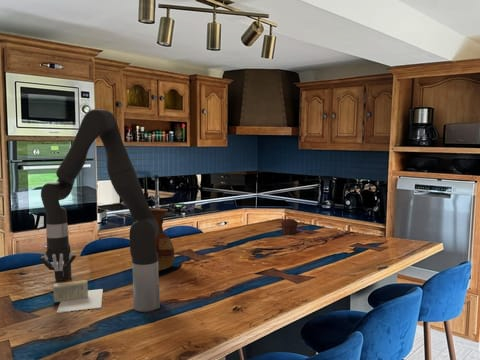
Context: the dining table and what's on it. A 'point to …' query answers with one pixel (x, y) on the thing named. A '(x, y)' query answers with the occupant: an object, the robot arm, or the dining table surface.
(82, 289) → the skincare box
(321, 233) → the dining table surface
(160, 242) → the brown vase
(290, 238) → the dining table surface
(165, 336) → the dining table surface
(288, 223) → the muffin
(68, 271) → the vinegar
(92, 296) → the mat
